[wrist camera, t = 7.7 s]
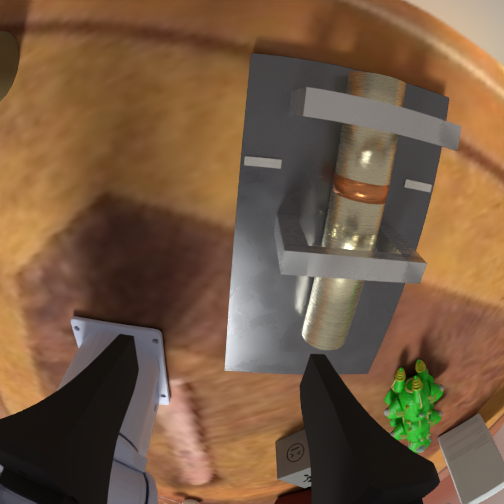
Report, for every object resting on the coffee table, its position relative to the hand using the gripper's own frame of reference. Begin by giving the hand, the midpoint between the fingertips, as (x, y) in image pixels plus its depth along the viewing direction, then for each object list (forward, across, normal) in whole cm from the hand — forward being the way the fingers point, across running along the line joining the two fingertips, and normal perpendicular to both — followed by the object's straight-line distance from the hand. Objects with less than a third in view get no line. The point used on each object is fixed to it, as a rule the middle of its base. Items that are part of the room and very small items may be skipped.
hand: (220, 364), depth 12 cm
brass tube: (+7, -6, -4) cm, 10 cm away
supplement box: (+10, -36, +26) cm, 45 cm away
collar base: (+9, -6, -2) cm, 11 cm away
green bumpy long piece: (+10, -20, +15) cm, 27 cm away
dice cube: (+10, -10, +22) cm, 26 cm away
